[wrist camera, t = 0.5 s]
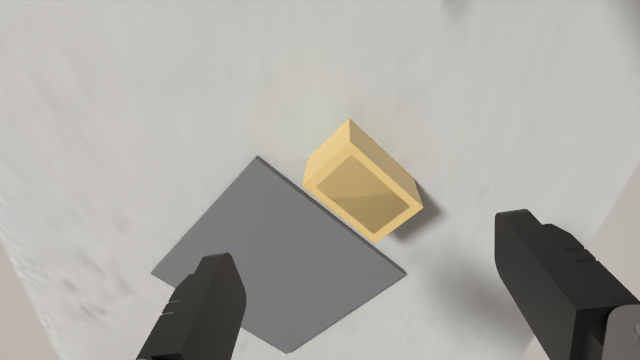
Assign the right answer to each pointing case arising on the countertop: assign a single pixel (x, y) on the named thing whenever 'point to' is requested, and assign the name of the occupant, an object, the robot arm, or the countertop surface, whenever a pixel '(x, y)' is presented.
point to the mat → (283, 257)
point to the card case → (361, 183)
